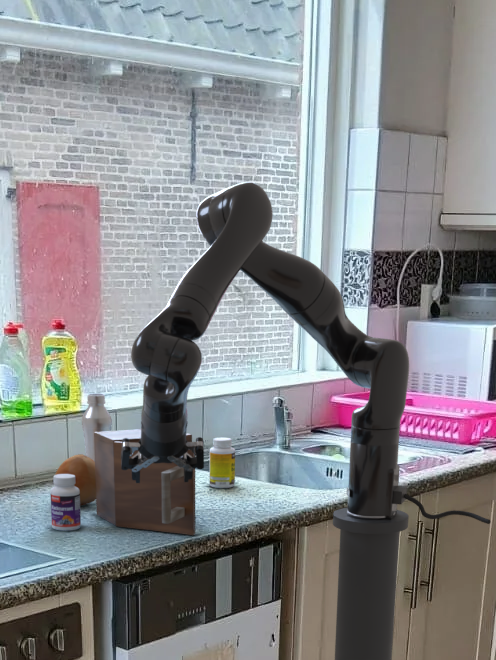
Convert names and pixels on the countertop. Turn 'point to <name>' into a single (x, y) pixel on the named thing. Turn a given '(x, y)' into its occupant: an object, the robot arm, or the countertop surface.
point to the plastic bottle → (95, 421)
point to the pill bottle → (65, 503)
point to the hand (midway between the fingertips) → (161, 478)
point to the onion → (81, 476)
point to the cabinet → (110, 468)
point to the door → (154, 497)
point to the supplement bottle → (222, 463)
